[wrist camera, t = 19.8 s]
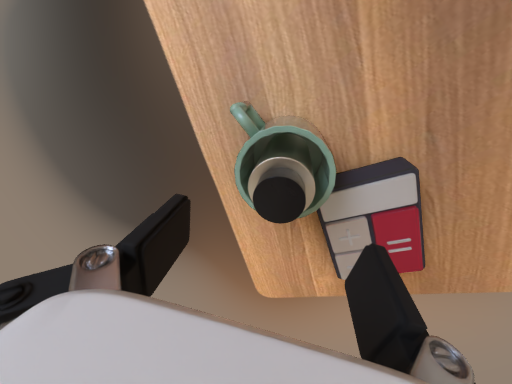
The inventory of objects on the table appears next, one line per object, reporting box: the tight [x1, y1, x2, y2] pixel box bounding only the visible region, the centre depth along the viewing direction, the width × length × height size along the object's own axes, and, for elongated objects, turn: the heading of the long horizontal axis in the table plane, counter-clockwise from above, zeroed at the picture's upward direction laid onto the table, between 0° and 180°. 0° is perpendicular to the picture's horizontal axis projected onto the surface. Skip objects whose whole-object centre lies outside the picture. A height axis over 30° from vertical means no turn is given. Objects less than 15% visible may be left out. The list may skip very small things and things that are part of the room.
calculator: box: [317, 157, 425, 280], centre depth 27 cm, size 11×4×15 cm
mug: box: [230, 101, 336, 219], centre depth 23 cm, size 13×10×8 cm
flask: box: [248, 133, 315, 223], centre depth 21 cm, size 6×6×12 cm
